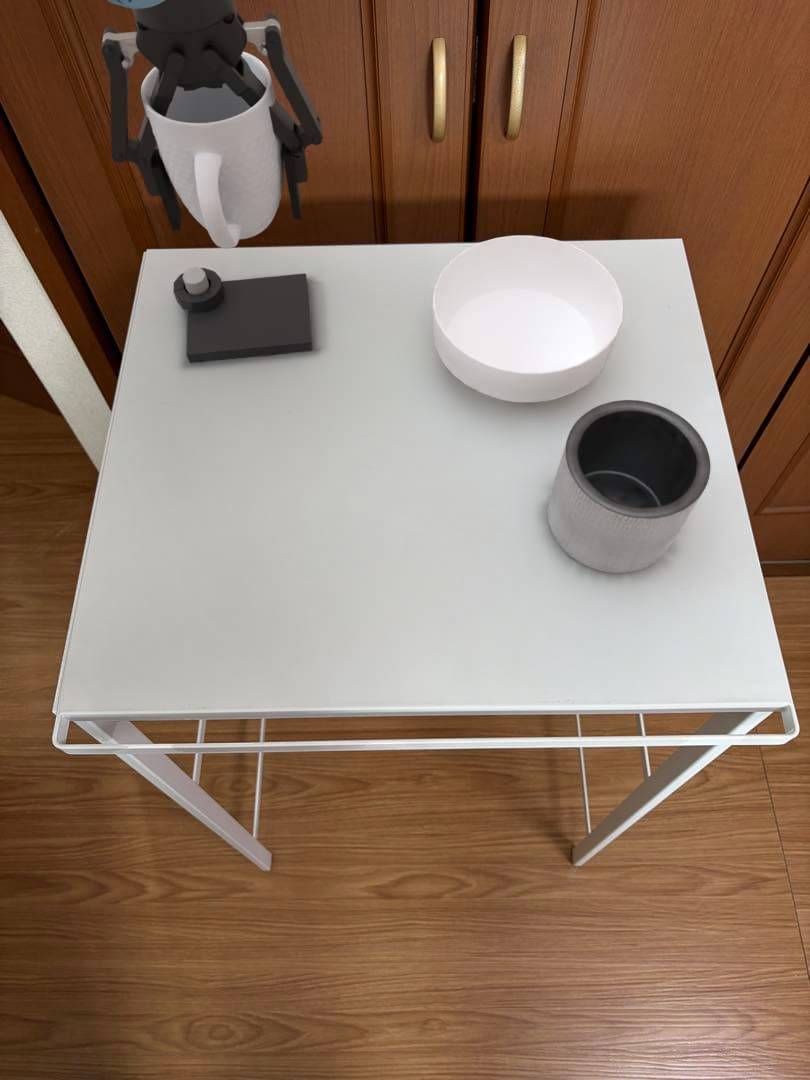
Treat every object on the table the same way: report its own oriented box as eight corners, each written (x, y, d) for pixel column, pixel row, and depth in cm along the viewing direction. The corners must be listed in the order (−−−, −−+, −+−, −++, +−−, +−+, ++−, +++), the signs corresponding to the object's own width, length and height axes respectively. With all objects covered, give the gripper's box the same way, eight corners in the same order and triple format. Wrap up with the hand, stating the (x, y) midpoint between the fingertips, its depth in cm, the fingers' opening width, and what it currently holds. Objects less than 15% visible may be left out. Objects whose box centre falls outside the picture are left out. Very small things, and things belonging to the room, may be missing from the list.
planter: (533, 558, 72) (551, 498, 62) (558, 455, 78) (578, 384, 68) (664, 591, 70) (704, 534, 60) (680, 483, 76) (719, 415, 66)
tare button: (186, 296, 86) (182, 284, 84) (186, 280, 87) (182, 268, 85) (209, 294, 86) (205, 282, 84) (209, 278, 87) (205, 266, 86)
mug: (292, 283, 69) (266, 152, 57) (173, 288, 69) (124, 158, 57) (296, 178, 76) (274, 43, 64) (188, 183, 76) (147, 48, 64)
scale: (178, 364, 84) (170, 345, 82) (181, 289, 90) (173, 270, 87) (312, 350, 85) (309, 331, 82) (307, 277, 91) (303, 257, 88)
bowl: (606, 435, 79) (625, 382, 71) (421, 418, 80) (421, 365, 73) (605, 300, 88) (622, 241, 80) (439, 287, 89) (441, 228, 82)
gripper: (330, -90, 55) (354, 179, 74) (9, -65, 54) (118, 201, 73) (338, -38, 51) (360, 230, 71) (-6, -10, 50) (112, 253, 70)
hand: (237, 215), depth 72 cm, fingers closed on mug, 11 cm apart
